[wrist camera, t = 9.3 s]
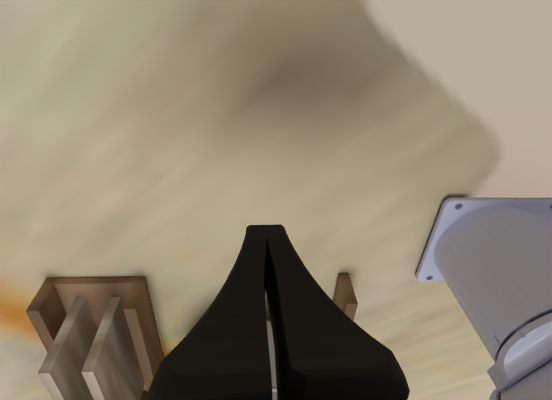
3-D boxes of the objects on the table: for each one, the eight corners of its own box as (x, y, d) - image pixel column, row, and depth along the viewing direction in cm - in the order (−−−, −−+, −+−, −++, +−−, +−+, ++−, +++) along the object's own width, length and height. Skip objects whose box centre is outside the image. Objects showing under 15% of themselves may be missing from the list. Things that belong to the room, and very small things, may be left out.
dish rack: (348, 273, 29) (371, 348, 23) (323, 381, 38) (336, 454, 32) (46, 278, 27) (-6, 360, 21) (96, 390, 36) (69, 469, 30)
